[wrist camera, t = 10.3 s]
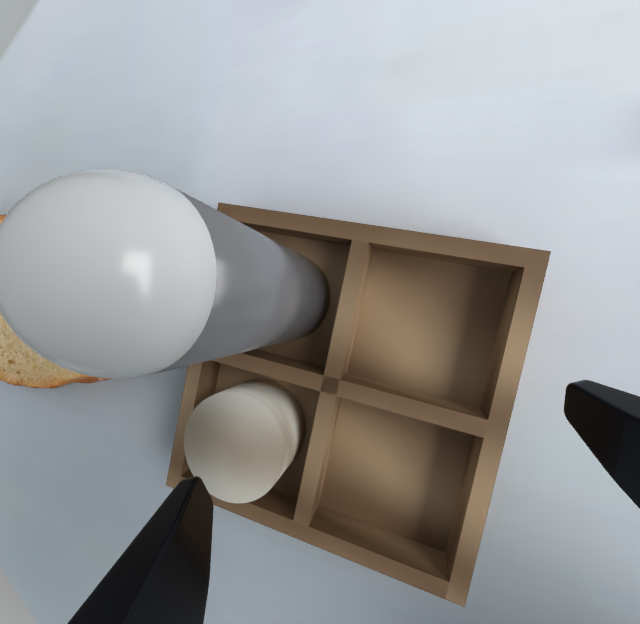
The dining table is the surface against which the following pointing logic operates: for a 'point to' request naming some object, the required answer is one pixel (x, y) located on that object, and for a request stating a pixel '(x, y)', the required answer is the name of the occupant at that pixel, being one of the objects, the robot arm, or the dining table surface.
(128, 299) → the grey rounded cylinder
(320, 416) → the caddy
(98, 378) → the slice of bread
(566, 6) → the dining table surface
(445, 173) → the dining table surface
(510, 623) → the dining table surface
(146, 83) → the dining table surface
